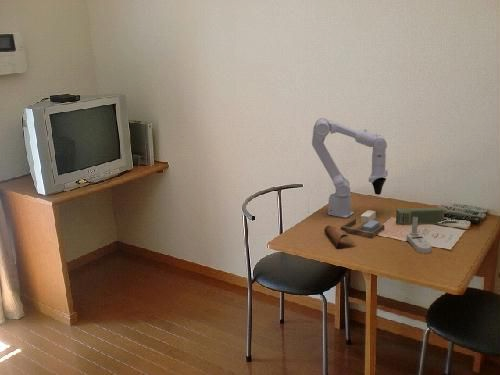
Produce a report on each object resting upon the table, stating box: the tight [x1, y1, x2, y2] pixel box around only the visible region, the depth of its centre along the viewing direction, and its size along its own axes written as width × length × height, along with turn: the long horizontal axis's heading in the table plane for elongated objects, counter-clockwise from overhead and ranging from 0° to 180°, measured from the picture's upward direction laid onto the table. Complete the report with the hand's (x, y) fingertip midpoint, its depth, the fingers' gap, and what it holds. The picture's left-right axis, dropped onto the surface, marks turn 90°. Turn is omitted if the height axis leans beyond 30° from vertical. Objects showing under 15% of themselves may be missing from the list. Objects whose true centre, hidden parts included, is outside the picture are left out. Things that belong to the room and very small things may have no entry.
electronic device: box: [406, 217, 432, 254], centre depth 205 cm, size 5×10×15 cm
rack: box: [340, 218, 386, 239], centre depth 223 cm, size 14×11×2 cm
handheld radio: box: [395, 207, 458, 225], centre depth 227 cm, size 7×3×25 cm
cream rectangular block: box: [360, 209, 376, 224], centre depth 234 cm, size 8×4×3 cm, turn 146°
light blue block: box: [363, 219, 381, 232], centre depth 222 cm, size 8×4×3 cm, turn 141°
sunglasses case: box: [323, 225, 357, 250], centre depth 214 cm, size 18×7×7 cm
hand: (377, 194), depth 238 cm, fingers closed
